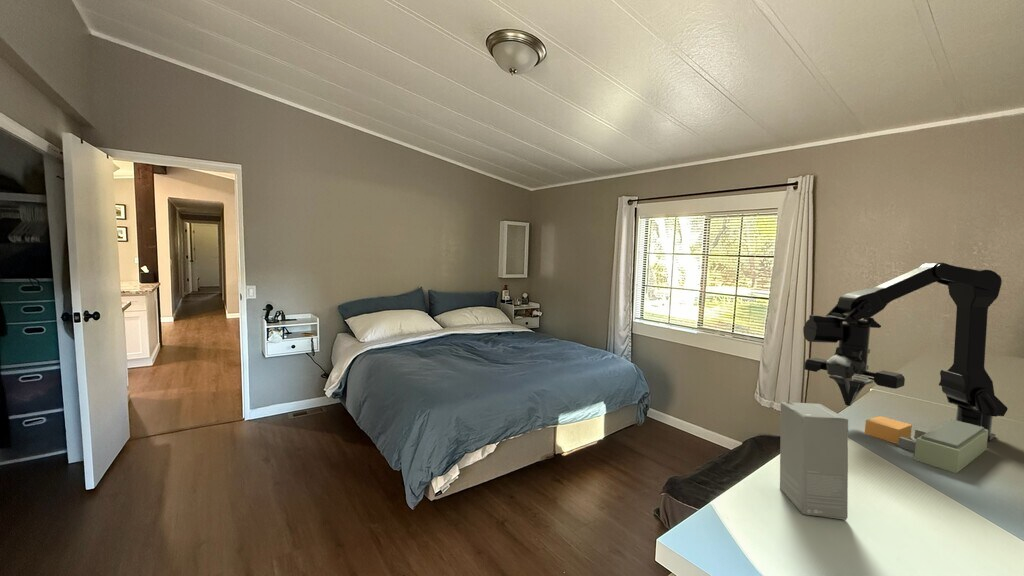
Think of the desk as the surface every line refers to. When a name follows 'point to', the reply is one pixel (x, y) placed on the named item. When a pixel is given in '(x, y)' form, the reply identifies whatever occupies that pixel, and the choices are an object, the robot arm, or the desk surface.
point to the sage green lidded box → (948, 445)
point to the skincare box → (814, 459)
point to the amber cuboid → (887, 429)
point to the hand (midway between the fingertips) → (848, 405)
